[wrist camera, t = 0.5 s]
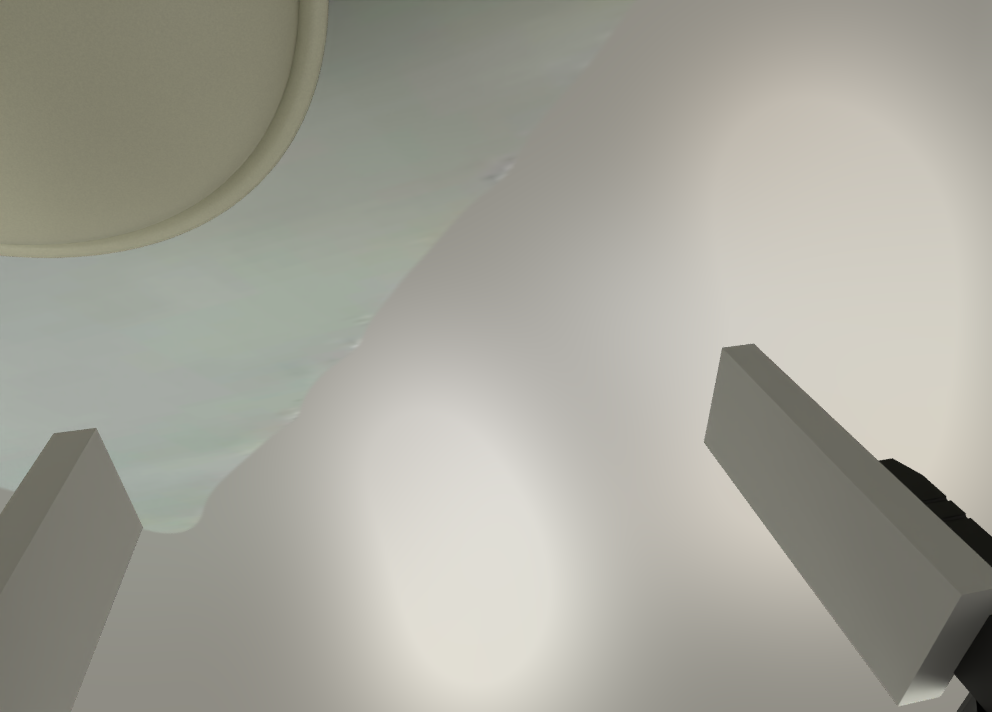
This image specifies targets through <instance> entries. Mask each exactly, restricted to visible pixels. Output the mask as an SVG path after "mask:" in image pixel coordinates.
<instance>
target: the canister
mask: <svg viewBox="0 0 992 712" xmlns="http://www.w3.org/2000/svg"><path fill="white" fill-rule="evenodd" d="M328 5H329V0H0V256H12V257H32V258H63V257H81V256H92V255H101V254H108V253H114V252H121V251H126V250H131V249H135V248H140V247H144V246H147V245H151V244H155V243H158V242H161V241H164V240H167V239H170V238H173V237H175V236H178V235H181V234H183V233H185V232H188V231H190V230H192V229H194V228H197V227H199V226H201V225H203V224H204V223H206V222H208V221H210V220H212V219H213V218H215V217H217V216H219V215H220V214H222V213H223V212H225V211H226V210H228V209H229V208H231V207H232V206H234V205H235V204H236V203H237V202H239V201H240V200H241V199H243V198H244V197H245V196H246V195H247V194H249V193H250V192H251V191H252V190H253V189H254V188H255V187H256V186H257V185H258V184H259V183H260V182H261V181H262V180H263V179H264V178H265V177H266V176H267V175H268V174H269V173H270V171H271V170H272V169H273V168H274V167H275V165H276V164H277V163H278V161H279V160H280V159H281V157H282V156H283V155H284V153H285V152H286V150H287V149H288V147H289V146H290V144H291V142H292V141H293V139H294V137H295V135H296V134H297V132H298V130H299V128H300V126H301V124H302V122H303V120H304V118H305V115H306V113H307V111H308V108H309V106H310V103H311V100H312V97H313V94H314V91H315V88H316V85H317V81H318V78H319V74H320V70H321V65H322V60H323V55H324V49H325V43H326V34H327V24H328Z"/></svg>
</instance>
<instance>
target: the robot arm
mask: <svg viewBox="0 0 992 712" xmlns="http://www.w3.org/2000/svg"><path fill="white" fill-rule="evenodd" d="M704 443H705V444H706V446H707V447H708V449H709V450H710V451H711V453H712V454H713V455H714V457H715V458H716V459H717V461H718V462H719V464H720V465H721V466H722V468H723V469H724V470H725V472H726V473H727V475H728V476H729V477H730V478H731V480H732V481H733V483H734V484H735V485H736V487H737V488H738V489H739V491H740V492H741V494H742V495H743V496H744V498H745V499H746V500H747V501H748V503H749V504H750V506H751V507H752V509H753V510H754V511H755V513H756V514H757V515H758V517H759V518H760V519H761V521H762V522H763V524H764V525H765V526H766V528H767V529H768V530H769V532H770V533H771V534H772V536H773V537H774V538H775V540H776V541H777V543H778V544H779V545H780V546H781V548H782V549H783V551H784V552H785V553H786V555H787V556H788V558H789V559H790V560H791V562H792V563H793V564H794V566H795V567H796V568H797V570H798V571H799V572H800V574H801V575H802V577H803V578H804V579H805V581H806V582H807V583H808V585H809V586H810V588H811V589H812V590H813V592H814V593H815V594H816V596H817V597H818V598H819V600H820V601H821V602H822V604H823V605H824V606H825V608H826V609H827V610H828V612H829V613H830V615H831V616H832V617H833V619H834V620H835V622H836V623H837V624H838V626H839V627H840V628H841V630H842V631H843V632H844V634H845V635H846V636H847V638H848V639H849V641H850V642H851V643H852V645H853V646H854V647H855V649H856V650H857V652H858V653H859V654H860V655H861V657H862V658H863V659H864V661H865V662H866V664H867V665H868V666H869V668H870V669H871V671H872V672H873V673H874V675H875V676H876V677H877V679H878V680H879V681H880V683H881V684H882V686H883V687H884V688H885V690H886V691H887V692H888V694H889V695H890V696H891V698H892V699H893V701H894V702H895V703H896V705H897V706H902V705H906V704H911V703H915V702H919V701H924V700H928V699H932V698H937V697H940V696H941V695H942V693H943V692H944V690H945V688H946V687H947V685H948V684H949V682H950V680H951V679H952V677H953V675H954V674H955V676H956V677H957V678H958V679H959V680H960V681H961V683H962V684H963V685H964V686H965V687H966V689H968V691H969V694H968V696H967V697H966V698H965V700H964V701H963V703H962V704H961V706H960V707H959V709H958V710H957V712H992V536H990V535H989V534H988V533H987V532H986V531H985V530H984V529H982V528H981V527H980V526H979V525H978V524H977V523H976V522H975V521H973V520H972V519H971V518H969V519H968V518H967V517H966V513H965V512H963V511H962V510H961V509H960V508H959V507H958V506H957V505H956V504H954V503H953V502H952V501H948V500H947V499H946V496H945V495H944V494H943V493H942V492H941V491H940V490H939V489H938V488H937V487H935V486H934V485H933V484H932V483H931V482H930V481H928V480H927V479H926V478H925V477H924V476H923V475H921V474H920V473H918V472H916V471H914V470H912V469H911V468H909V467H907V466H905V465H903V464H902V463H900V462H898V461H896V460H894V459H893V458H892V459H886V460H880V461H878V460H877V459H876V458H875V457H874V456H873V455H872V454H870V453H869V452H868V451H867V450H866V449H865V448H864V447H863V446H862V445H861V444H860V443H859V442H858V441H857V440H856V439H854V438H853V437H852V436H851V435H850V434H849V433H848V432H847V431H846V430H845V429H844V428H843V427H842V426H841V425H840V424H839V423H838V422H837V421H835V420H834V419H833V418H832V417H831V416H830V415H829V414H828V413H827V412H826V411H825V410H824V409H823V408H822V407H821V406H819V405H818V404H817V403H816V402H815V401H814V400H813V399H812V398H811V397H810V396H809V395H808V394H807V393H806V392H804V391H803V390H802V389H801V388H800V387H799V386H798V385H797V384H796V383H795V382H794V381H793V380H792V379H791V378H790V377H789V376H788V375H786V374H785V373H784V372H783V371H782V370H781V369H780V368H779V367H778V366H777V365H776V364H775V363H774V362H773V361H772V360H771V359H769V358H768V357H767V356H766V355H765V354H764V353H763V352H762V351H761V350H760V349H759V348H758V347H757V346H756V345H755V344H747V345H740V346H732V347H724V348H722V352H721V357H720V362H719V367H718V373H717V378H716V383H715V388H714V393H713V399H712V404H711V409H710V414H709V419H708V425H707V430H706V435H705V440H704ZM142 528H143V526H142V524H141V522H140V520H139V518H138V516H137V514H136V511H135V509H134V507H133V505H132V503H131V501H130V499H129V496H128V494H127V492H126V490H125V488H124V486H123V484H122V482H121V479H120V477H119V475H118V473H117V471H116V469H115V467H114V465H113V462H112V460H111V458H110V456H109V454H108V452H107V450H106V448H105V445H104V443H103V441H102V439H101V437H100V435H99V433H98V431H97V428H92V429H84V430H77V431H69V432H61V433H54V434H53V435H52V437H51V438H50V440H49V441H48V443H47V444H46V446H45V447H44V449H43V450H42V452H41V453H40V455H39V456H38V458H37V459H36V461H35V462H34V464H33V466H32V467H31V469H30V470H29V472H28V473H27V475H26V476H25V478H24V479H23V481H22V482H21V484H20V485H19V487H18V488H17V490H16V491H15V493H14V494H13V496H12V497H11V499H10V500H9V502H8V503H7V505H6V506H5V508H4V509H3V511H2V512H1V514H0V712H71V710H72V708H73V705H74V702H75V700H76V697H77V695H78V692H79V689H80V687H81V684H82V682H83V679H84V676H85V674H86V672H87V669H88V667H89V664H90V661H91V659H92V656H93V654H94V651H95V649H96V646H97V643H98V641H99V638H100V636H101V633H102V630H103V628H104V625H105V623H106V620H107V618H108V615H109V613H110V610H111V608H112V605H113V602H114V600H115V597H116V595H117V592H118V590H119V587H120V584H121V582H122V579H123V577H124V574H125V572H126V569H127V567H128V564H129V561H130V559H131V556H132V554H133V551H134V548H135V546H136V543H137V541H138V538H139V536H140V533H141V531H142Z"/></svg>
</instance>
